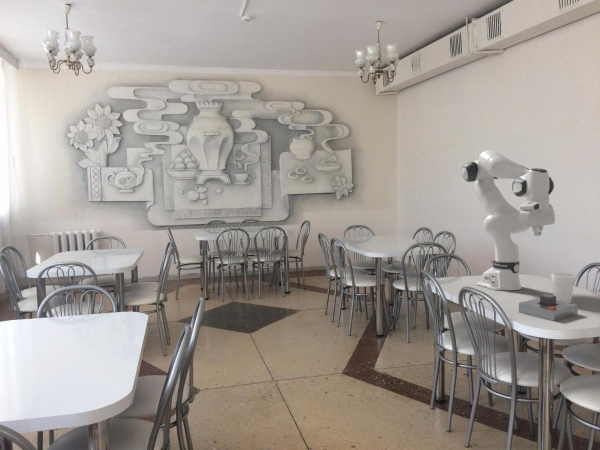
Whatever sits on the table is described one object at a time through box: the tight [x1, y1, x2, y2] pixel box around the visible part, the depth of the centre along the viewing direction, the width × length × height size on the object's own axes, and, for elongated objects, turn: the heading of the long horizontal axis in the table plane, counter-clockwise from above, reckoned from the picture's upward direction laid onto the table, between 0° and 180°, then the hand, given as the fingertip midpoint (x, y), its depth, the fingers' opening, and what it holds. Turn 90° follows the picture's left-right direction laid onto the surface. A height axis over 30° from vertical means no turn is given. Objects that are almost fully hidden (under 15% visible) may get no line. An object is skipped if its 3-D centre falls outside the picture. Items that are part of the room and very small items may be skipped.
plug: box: [539, 293, 556, 306], centre depth 204 cm, size 4×4×8 cm
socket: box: [518, 297, 579, 322], centre depth 204 cm, size 16×16×5 cm
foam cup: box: [550, 272, 576, 304], centre depth 218 cm, size 10×9×13 cm
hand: (537, 235), depth 216 cm, fingers closed
